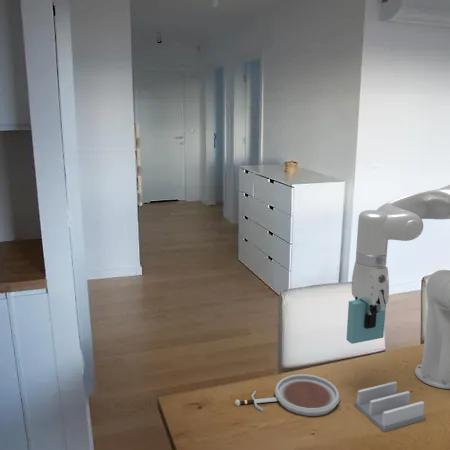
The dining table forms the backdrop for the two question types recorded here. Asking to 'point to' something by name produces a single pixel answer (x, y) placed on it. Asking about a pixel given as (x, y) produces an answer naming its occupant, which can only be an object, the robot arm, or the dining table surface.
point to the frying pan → (302, 395)
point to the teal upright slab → (357, 321)
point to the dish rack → (389, 406)
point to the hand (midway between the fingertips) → (366, 324)
